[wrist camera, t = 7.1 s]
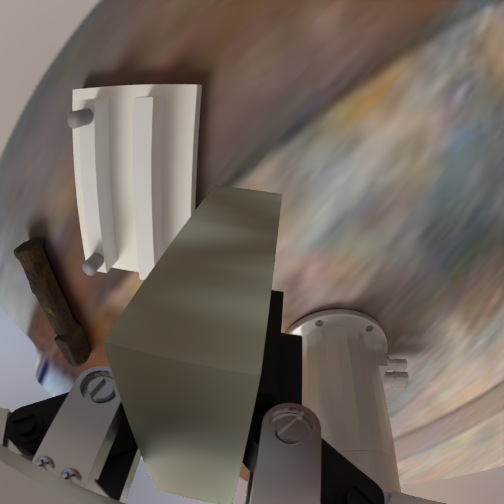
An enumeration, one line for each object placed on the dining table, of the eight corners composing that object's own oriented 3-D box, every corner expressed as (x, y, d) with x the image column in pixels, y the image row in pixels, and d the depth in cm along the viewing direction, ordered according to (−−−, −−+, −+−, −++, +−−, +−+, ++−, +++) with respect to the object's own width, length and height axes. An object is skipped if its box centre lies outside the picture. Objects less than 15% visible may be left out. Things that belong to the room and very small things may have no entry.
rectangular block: (281, 193, 11) (260, 375, 4) (258, 340, 15) (231, 506, 8) (214, 185, 11) (103, 341, 4) (207, 332, 15) (156, 489, 8)
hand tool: (27, 236, 34) (4, 253, 29) (47, 233, 33) (23, 252, 29) (78, 349, 42) (63, 370, 38) (98, 352, 42) (84, 375, 38)
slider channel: (202, 84, 24) (179, 84, 19) (194, 272, 33) (177, 307, 27) (81, 88, 24) (43, 93, 19) (92, 255, 33) (65, 284, 28)
